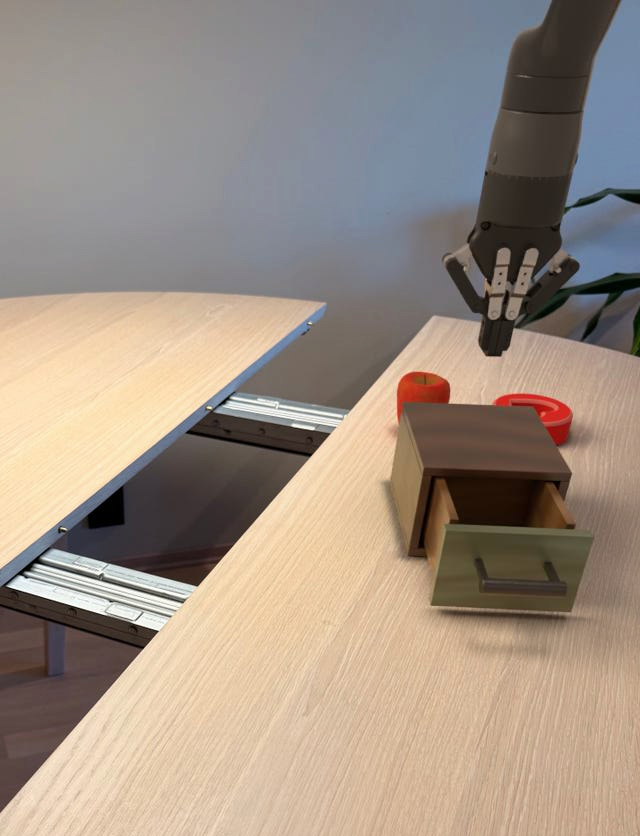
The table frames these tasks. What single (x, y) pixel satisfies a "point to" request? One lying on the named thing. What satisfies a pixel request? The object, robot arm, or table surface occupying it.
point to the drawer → (502, 544)
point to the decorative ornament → (543, 412)
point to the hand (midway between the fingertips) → (491, 353)
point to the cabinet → (467, 454)
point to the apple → (422, 389)
